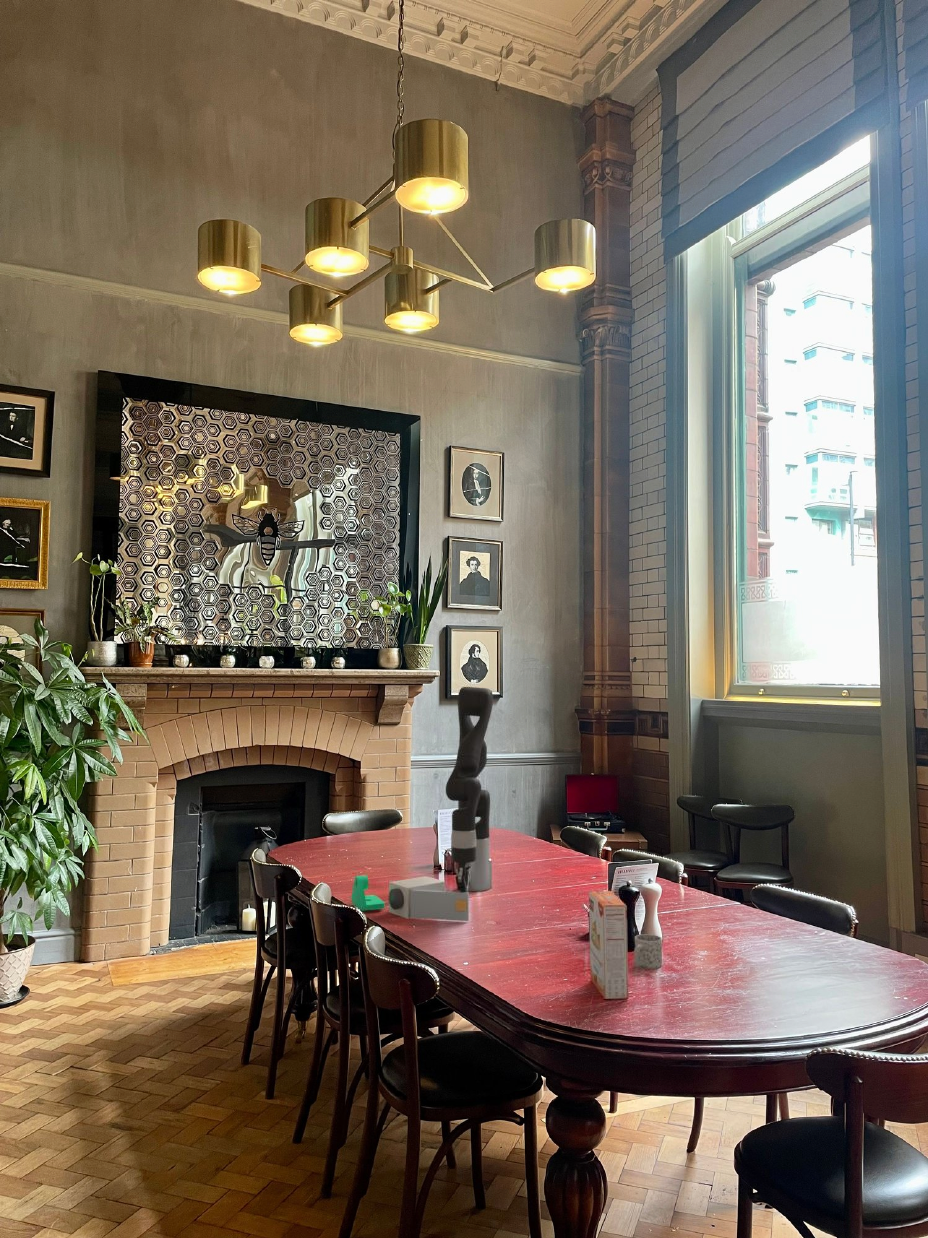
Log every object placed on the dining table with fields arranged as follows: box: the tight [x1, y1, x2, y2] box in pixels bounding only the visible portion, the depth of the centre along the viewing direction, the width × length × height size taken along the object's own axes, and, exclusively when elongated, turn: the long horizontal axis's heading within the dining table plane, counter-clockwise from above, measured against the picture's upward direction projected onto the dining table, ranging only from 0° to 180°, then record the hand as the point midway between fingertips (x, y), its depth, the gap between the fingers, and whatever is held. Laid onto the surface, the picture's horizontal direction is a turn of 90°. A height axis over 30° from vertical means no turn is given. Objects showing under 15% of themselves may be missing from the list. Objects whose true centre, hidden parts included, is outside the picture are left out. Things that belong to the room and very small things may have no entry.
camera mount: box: [350, 874, 386, 912], centre depth 287 cm, size 12×8×10 cm, turn 22°
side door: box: [409, 890, 470, 922], centre depth 272 cm, size 18×2×8 cm, turn 78°
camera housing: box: [388, 875, 446, 920], centre depth 282 cm, size 16×10×9 cm, turn 129°
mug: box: [633, 933, 663, 970], centre depth 229 cm, size 10×7×7 cm, turn 141°
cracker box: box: [588, 890, 629, 1000], centre depth 212 cm, size 14×6×21 cm, turn 5°
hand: (463, 903), depth 274 cm, fingers closed
